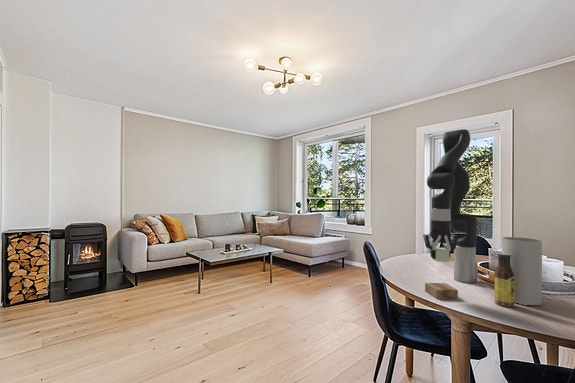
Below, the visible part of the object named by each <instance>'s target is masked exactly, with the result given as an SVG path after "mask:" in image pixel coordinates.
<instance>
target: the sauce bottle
mask: <svg viewBox="0 0 575 383" xmlns="http://www.w3.org/2000/svg"><path fill="white" fill-rule="evenodd" d="M497 258H498V262H497V266H496V267H495V269H494V303H495V304H497V305H499V306H500V305H501V306H500V307H506V308H513V307H514V306H515V303H514V302H515V277H514V273H513V271H512V268H511V266H510V258H511V255H510V254H505V253H502V252H499V253H497Z"/></svg>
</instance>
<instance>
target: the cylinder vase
mask: <svg viewBox="0 0 575 383" xmlns="http://www.w3.org/2000/svg"><path fill="white" fill-rule="evenodd" d="M501 253H505V254H510V255H511V258H510V266H511V268H512V271H513V273H514V277H515V303H514V304H516V303H519V304H518V305H521V304H526V305H525V306H527V305H539V306H541V305H542V304H541V303H543V294H542V293H543V241H542V240H540V239H536V238H530V237H529V238H527V237H517V236H516V237H515V236H505V237H504V236H503V237H502V238H501ZM540 304H541V305H540Z"/></svg>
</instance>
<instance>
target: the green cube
mask: <svg viewBox="0 0 575 383" xmlns="http://www.w3.org/2000/svg"><path fill="white" fill-rule="evenodd" d="M435 251H436V258H435V259H433V258H432V257H431V260H433V261H436V263H437V262H439V263H441V262H442V263H443V262H444V263H450V258H449V250H448V249H445V247H436V249H435Z"/></svg>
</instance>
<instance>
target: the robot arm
mask: <svg viewBox="0 0 575 383" xmlns="http://www.w3.org/2000/svg"><path fill="white" fill-rule="evenodd" d="M442 135H443V136H442V146H443V153H444V154H443V156H441V158H440V159H439V162H438V164H437V166H436V167H435V168H434V169H433V170H432V171H431V172H430V173H429V175H427V178H426V185H427V187H428V188H429V189H430V190H443V191H442V193H439V194H435V195H433V196H431V210H430V232H429V233H428V234H426V233H425V234H423V235H422V237H423V240H424V245H425V247H426V249H429V250H430V258H431V259H432V258H433V259H435V258H436V251H435V249H436V248H437V246H438V245H439V244H443V247H444V248H445V249H448V250H449V259H451V250H453V279H454V281H457V282H461V283H465V284H466V283H469V284H474V283H478V280H479V279H478V278H479V276H478V272H479V271H478V269H479V266H478V262H477V260H476V258H477V257H476V253H477V252H476V251H477V250H476V248H477V246H476V245H477V236H478V235H477V234H478V219H477V216H475V215H474V214H470V213H469V214H468V213H467V214H466V213H461V206H462V202H464V199H465V198H466V196H467V195H468V193H469V191H470V189H471V185H470V175H469V173H468V171H467V170H466V168H464V166H463V165H462V164H461V163H460V162H459V160H460V159H461V157H462V156H463V155H464V154H465V152H466V151H467V149H468V147H469V146H470V143H471V134H470V132H469V130H468V129H464V128H462V129H457V130H451V131H449V130H448V131H445V132H444V133H443V134H442ZM451 229H452V230H451ZM451 231H453V232H457V233H464V234H465V236H464V237H461V238H459V236H458V235H457V234H452V233H451ZM430 239H431V241H430ZM449 240H450V242H449ZM433 259H432V260H433Z"/></svg>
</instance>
